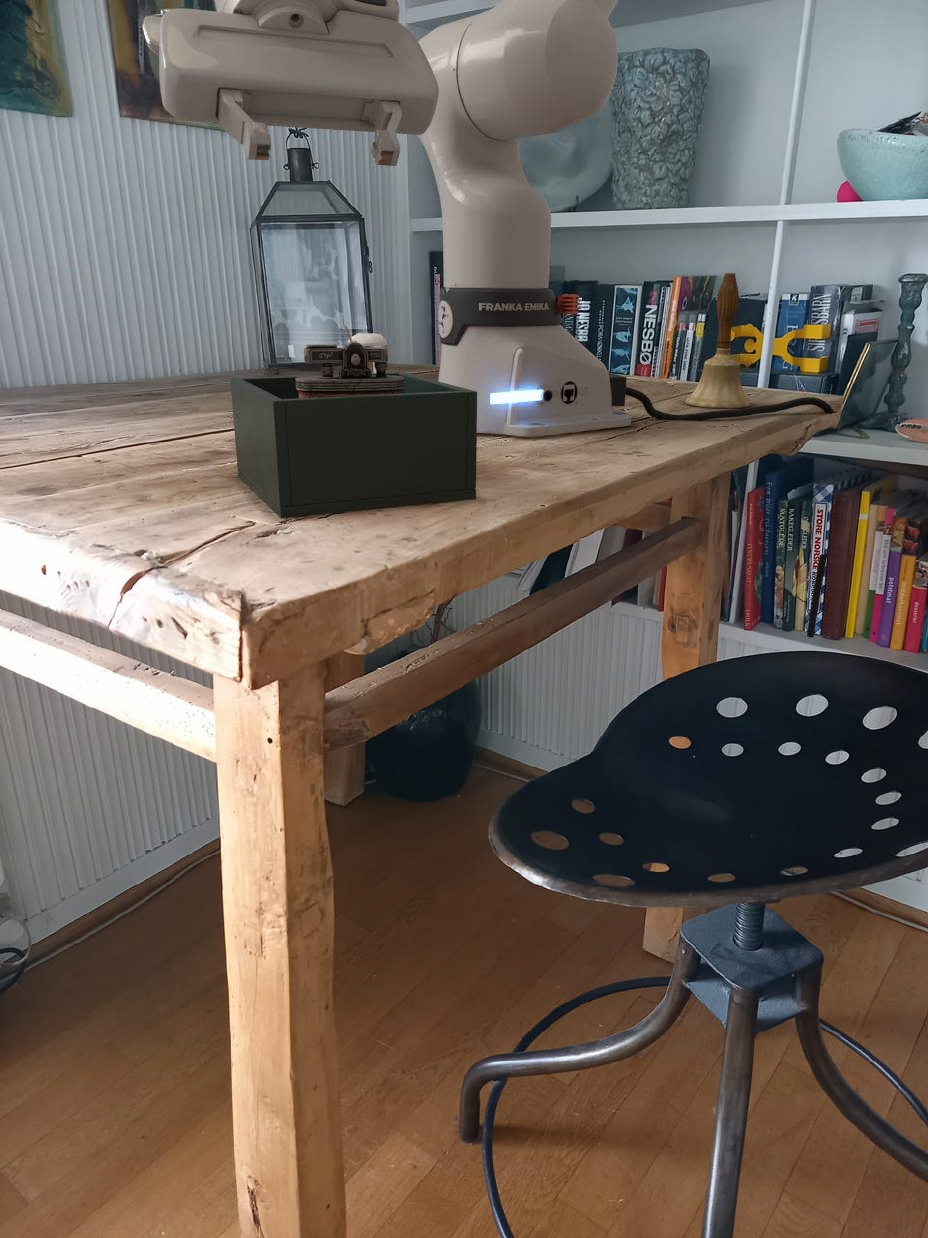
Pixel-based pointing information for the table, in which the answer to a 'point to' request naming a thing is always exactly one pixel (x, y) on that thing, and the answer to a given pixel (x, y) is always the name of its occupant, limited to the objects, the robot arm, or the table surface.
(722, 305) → the hand bell
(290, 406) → the bin
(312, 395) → the lighter
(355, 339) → the milkshake
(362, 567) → the table surface
